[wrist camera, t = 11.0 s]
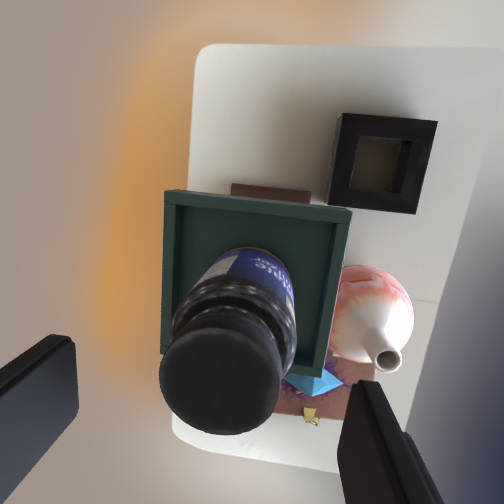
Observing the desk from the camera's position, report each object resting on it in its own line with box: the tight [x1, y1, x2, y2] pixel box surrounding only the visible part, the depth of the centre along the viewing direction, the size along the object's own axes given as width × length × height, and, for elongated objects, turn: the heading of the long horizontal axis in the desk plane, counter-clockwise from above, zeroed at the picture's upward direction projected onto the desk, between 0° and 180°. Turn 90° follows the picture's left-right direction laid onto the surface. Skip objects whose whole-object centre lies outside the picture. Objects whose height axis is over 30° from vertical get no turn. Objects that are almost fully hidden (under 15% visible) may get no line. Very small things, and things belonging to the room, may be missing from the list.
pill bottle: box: [159, 245, 297, 435], centre depth 16 cm, size 6×6×11 cm
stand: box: [231, 183, 311, 204], centre depth 35 cm, size 12×12×26 cm
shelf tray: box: [160, 189, 353, 378], centre depth 21 cm, size 12×12×2 cm
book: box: [273, 347, 376, 426], centre depth 51 cm, size 16×25×5 cm, turn 88°
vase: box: [328, 265, 413, 372], centre depth 40 cm, size 14×14×18 cm
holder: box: [324, 113, 438, 215], centre depth 42 cm, size 12×12×4 cm
